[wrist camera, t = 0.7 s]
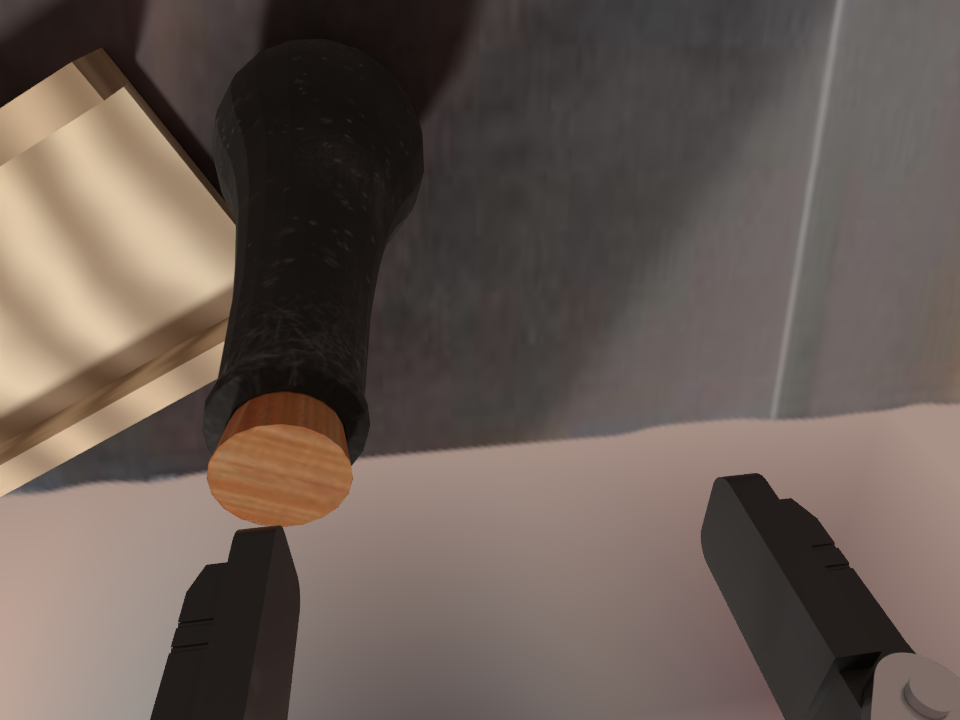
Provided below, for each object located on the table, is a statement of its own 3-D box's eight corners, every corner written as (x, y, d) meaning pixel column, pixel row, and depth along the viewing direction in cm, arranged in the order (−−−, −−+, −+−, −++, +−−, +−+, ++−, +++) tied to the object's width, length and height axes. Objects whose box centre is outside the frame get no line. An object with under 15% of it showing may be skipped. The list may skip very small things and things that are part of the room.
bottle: (264, -14, 34) (37, 147, 10) (443, 78, 38) (611, 359, 13) (210, 168, 39) (-34, 592, 14) (376, 233, 43) (409, 651, 18)
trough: (101, 47, 34) (71, 61, 31) (303, 299, 44) (299, 333, 41) (-278, 292, 38) (-345, 332, 34) (-12, 474, 48) (-42, 519, 44)
